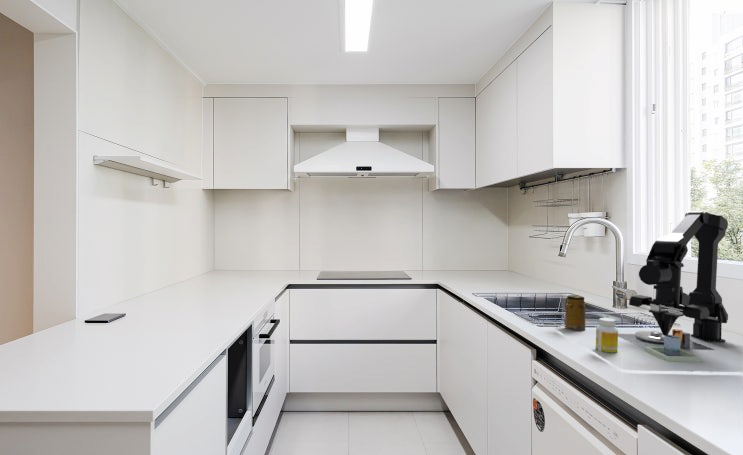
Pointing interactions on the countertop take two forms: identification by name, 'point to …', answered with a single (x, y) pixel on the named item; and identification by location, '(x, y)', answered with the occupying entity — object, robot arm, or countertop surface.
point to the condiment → (575, 313)
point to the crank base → (643, 343)
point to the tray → (686, 357)
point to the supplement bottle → (606, 336)
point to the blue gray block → (672, 345)
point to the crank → (657, 335)
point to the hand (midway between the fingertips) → (665, 335)
